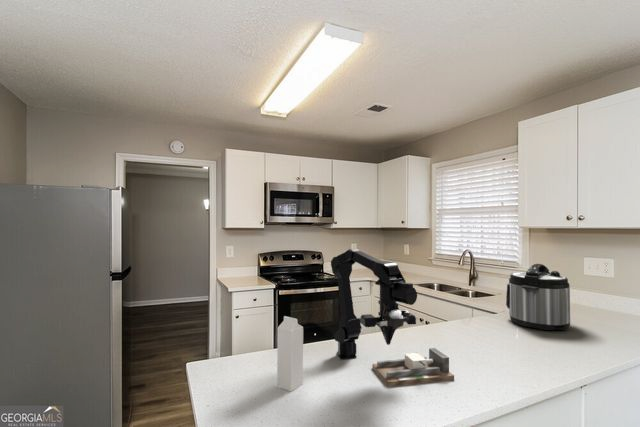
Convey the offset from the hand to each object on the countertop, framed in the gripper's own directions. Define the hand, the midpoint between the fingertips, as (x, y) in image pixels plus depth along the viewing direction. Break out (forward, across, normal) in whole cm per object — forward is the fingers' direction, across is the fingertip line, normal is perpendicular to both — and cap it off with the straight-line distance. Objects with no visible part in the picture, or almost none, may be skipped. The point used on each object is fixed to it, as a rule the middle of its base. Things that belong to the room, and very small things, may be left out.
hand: (388, 344), depth 116 cm
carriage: (+9, +12, -2) cm, 15 cm away
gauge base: (+11, +9, 0) cm, 14 cm away
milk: (+11, -34, 0) cm, 36 cm away
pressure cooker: (+11, +102, +41) cm, 110 cm away
